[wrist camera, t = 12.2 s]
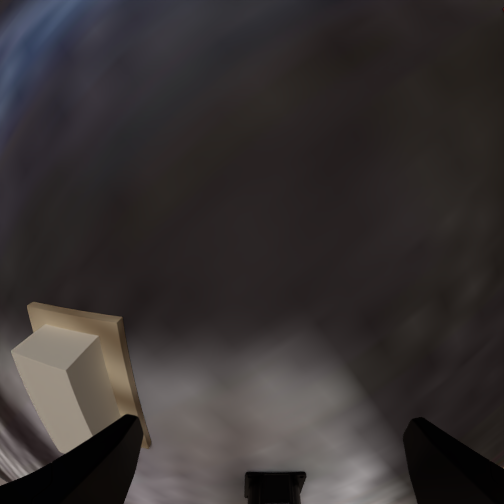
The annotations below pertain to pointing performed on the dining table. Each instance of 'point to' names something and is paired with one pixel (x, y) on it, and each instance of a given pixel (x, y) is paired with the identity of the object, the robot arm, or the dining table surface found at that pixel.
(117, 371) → the base
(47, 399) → the block
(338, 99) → the dining table surface
